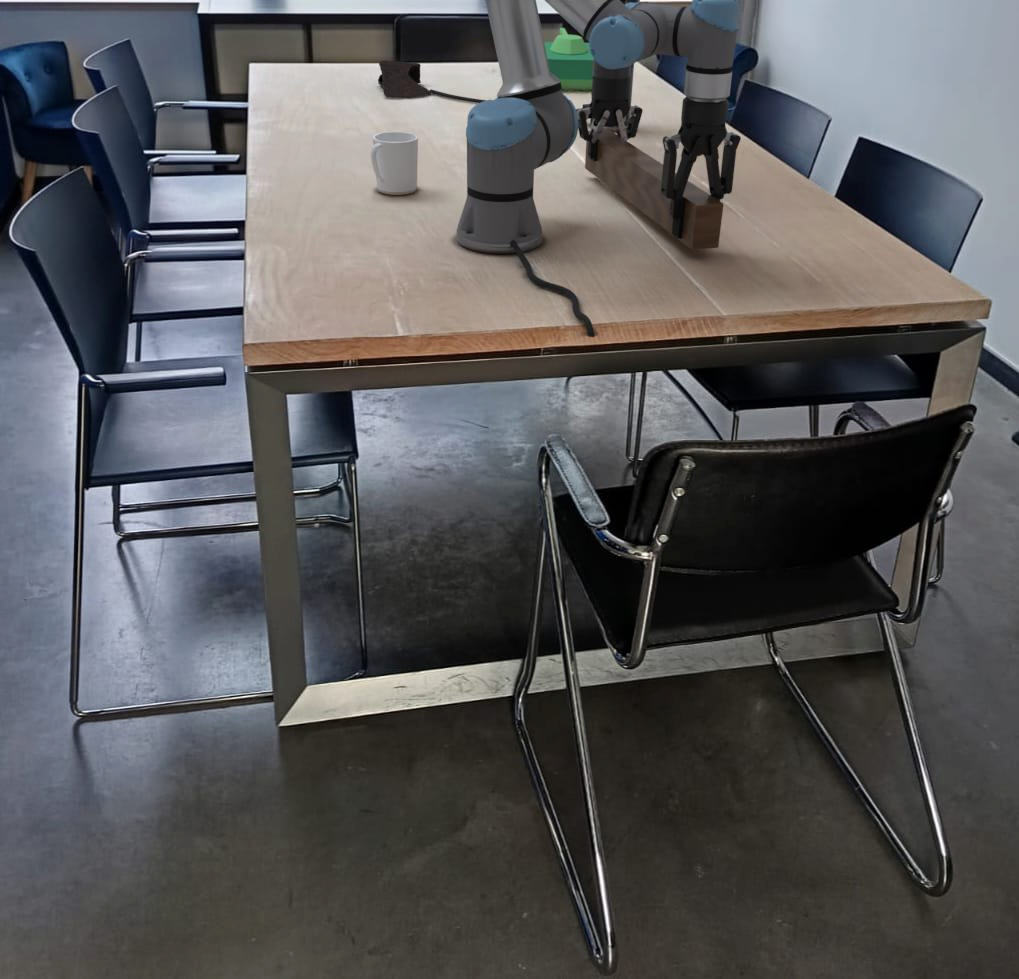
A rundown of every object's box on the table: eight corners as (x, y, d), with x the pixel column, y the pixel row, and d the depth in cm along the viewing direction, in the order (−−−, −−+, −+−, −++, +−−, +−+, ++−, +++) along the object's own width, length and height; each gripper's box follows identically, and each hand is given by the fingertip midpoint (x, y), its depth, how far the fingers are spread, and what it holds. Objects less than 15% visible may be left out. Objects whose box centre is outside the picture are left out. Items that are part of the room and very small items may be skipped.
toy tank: (590, 24, 327) (604, 45, 297) (588, 68, 333) (601, 92, 303) (531, 23, 326) (539, 44, 296) (530, 67, 332) (538, 91, 302)
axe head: (443, 87, 294) (392, 77, 287) (436, 115, 299) (385, 106, 292) (421, 62, 307) (371, 52, 300) (414, 89, 311) (365, 80, 304)
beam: (718, 247, 189) (723, 203, 185) (692, 250, 187) (696, 205, 183) (606, 166, 232) (609, 129, 228) (584, 168, 231) (586, 130, 227)
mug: (396, 180, 226) (394, 129, 221) (428, 188, 221) (427, 137, 216) (358, 191, 219) (355, 139, 214) (389, 200, 214) (387, 147, 209)
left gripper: (744, 90, 186) (728, 224, 198) (646, 95, 181) (635, 232, 193) (766, 99, 179) (747, 237, 192) (664, 105, 175) (652, 246, 187)
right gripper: (637, 68, 221) (631, 153, 230) (571, 70, 218) (567, 157, 226) (652, 75, 215) (645, 162, 224) (584, 78, 211) (579, 166, 220)
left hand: (691, 234), depth 192 cm, fingers closed on beam, 5 cm apart
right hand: (606, 159), depth 225 cm, fingers closed on beam, 5 cm apart
